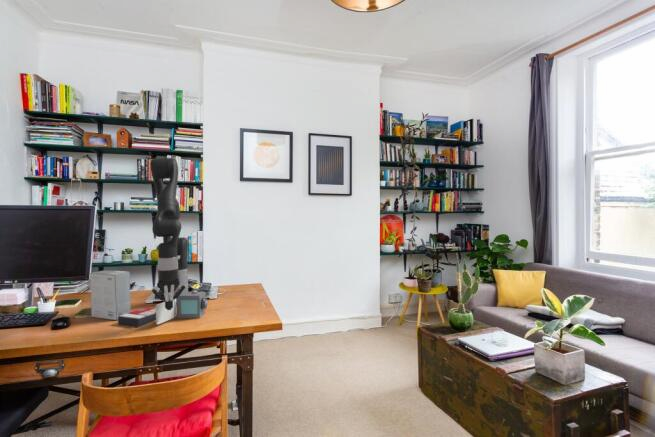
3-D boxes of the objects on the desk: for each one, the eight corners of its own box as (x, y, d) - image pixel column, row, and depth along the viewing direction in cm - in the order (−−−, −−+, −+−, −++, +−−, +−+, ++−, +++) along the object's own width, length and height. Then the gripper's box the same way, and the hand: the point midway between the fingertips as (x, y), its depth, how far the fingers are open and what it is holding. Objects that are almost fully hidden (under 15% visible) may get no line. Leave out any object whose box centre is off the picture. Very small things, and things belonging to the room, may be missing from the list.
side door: (171, 317, 146) (171, 299, 146) (174, 317, 146) (173, 299, 146) (154, 324, 138) (154, 304, 138) (157, 324, 137) (157, 305, 137)
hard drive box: (131, 315, 152) (130, 271, 152) (116, 320, 145) (114, 274, 144) (106, 311, 158) (105, 269, 157) (90, 317, 150) (89, 272, 150)
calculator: (166, 308, 151) (138, 317, 137) (165, 318, 151) (137, 328, 137) (146, 306, 155) (117, 314, 141) (146, 315, 155) (117, 325, 140)
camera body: (173, 319, 147) (173, 294, 146) (181, 313, 155) (181, 290, 155) (203, 319, 147) (202, 294, 147) (209, 313, 155) (208, 289, 155)
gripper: (150, 271, 131) (151, 315, 132) (186, 267, 138) (187, 309, 139) (149, 268, 138) (150, 309, 139) (183, 264, 145) (184, 304, 146)
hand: (169, 309), depth 139 cm, fingers closed
